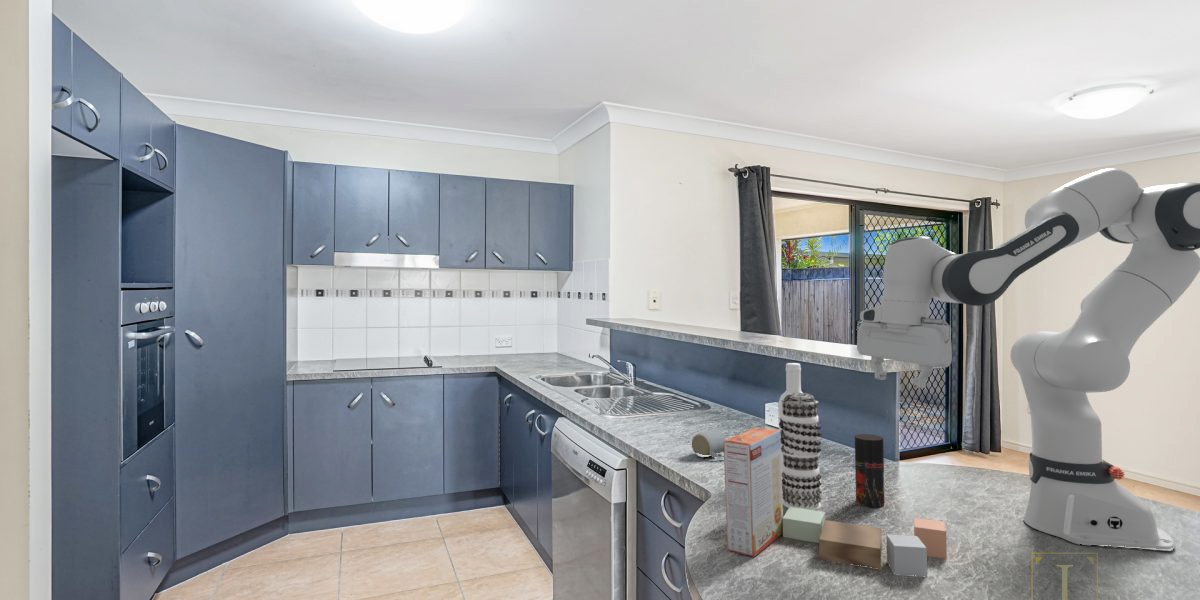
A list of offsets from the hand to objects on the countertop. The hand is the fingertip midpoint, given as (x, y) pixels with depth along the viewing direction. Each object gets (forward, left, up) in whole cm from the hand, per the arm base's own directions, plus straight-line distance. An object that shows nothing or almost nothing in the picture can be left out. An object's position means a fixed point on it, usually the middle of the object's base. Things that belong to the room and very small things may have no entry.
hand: (899, 383), depth 122 cm
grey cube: (-1, +21, -29) cm, 36 cm away
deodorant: (+6, -12, -29) cm, 32 cm away
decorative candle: (+20, -5, -29) cm, 36 cm away
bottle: (+24, -23, -29) cm, 45 cm away
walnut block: (+8, +18, -30) cm, 36 cm away
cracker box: (+25, +20, -29) cm, 44 cm away
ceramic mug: (+50, -37, -30) cm, 69 cm away
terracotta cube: (-5, +11, -29) cm, 32 cm away
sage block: (+17, +12, -30) cm, 36 cm away
